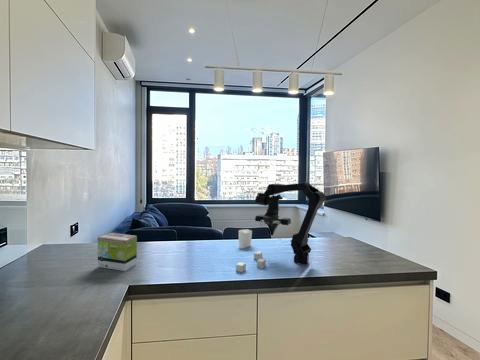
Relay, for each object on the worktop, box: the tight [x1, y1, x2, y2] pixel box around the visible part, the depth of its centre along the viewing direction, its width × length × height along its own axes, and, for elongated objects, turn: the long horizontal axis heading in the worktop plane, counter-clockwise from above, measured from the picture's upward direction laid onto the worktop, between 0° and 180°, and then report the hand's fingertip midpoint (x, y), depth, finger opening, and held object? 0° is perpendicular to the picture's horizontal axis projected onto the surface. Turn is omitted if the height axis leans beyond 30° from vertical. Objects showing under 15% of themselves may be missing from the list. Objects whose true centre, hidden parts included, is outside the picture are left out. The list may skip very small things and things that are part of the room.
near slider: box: [235, 261, 247, 273], centre depth 148 cm, size 3×4×3 cm
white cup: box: [238, 229, 253, 249], centre depth 189 cm, size 8×8×10 cm
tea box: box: [97, 232, 138, 272], centre depth 151 cm, size 15×10×15 cm, turn 76°
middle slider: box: [256, 258, 267, 269], centre depth 154 cm, size 3×4×3 cm
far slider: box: [253, 250, 263, 261], centre depth 166 cm, size 3×4×3 cm
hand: (272, 235), depth 172 cm, fingers closed
